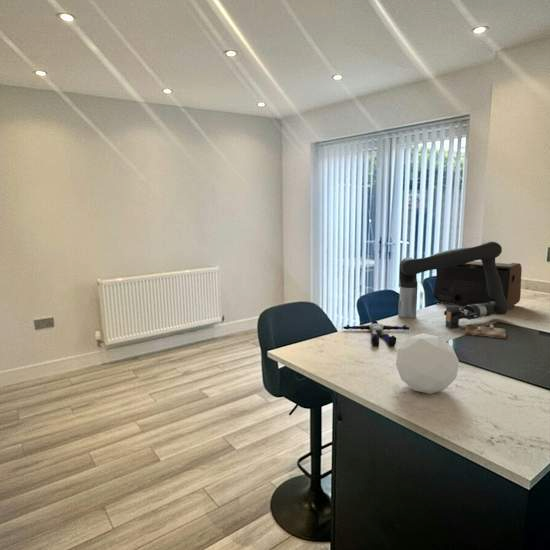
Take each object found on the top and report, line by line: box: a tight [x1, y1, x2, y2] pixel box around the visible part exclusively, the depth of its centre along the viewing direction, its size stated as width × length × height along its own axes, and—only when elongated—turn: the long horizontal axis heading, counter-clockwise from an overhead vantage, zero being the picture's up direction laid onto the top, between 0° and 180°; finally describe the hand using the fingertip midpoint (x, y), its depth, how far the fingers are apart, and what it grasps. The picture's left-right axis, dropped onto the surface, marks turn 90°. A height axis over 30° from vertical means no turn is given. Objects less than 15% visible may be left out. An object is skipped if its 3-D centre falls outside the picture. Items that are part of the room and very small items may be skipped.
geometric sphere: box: [395, 332, 460, 395], centre depth 132 cm, size 19×20×20 cm
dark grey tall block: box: [445, 304, 461, 330], centre depth 201 cm, size 5×4×11 cm
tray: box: [464, 324, 507, 340], centre depth 191 cm, size 17×12×4 cm
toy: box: [342, 319, 410, 348], centre depth 190 cm, size 33×6×30 cm
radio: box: [432, 260, 523, 309], centre depth 245 cm, size 45×32×28 cm
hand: (451, 315), depth 201 cm, fingers open, 8 cm apart
